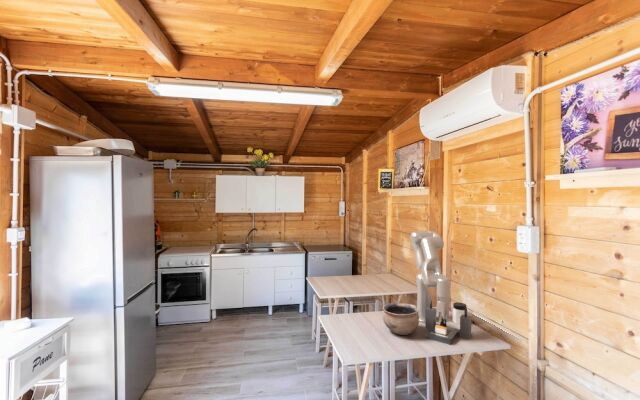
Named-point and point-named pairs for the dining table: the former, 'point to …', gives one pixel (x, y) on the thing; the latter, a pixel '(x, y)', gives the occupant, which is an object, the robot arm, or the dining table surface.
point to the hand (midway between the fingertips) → (443, 329)
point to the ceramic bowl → (401, 317)
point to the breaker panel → (447, 339)
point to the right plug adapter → (465, 325)
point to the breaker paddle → (441, 329)
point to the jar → (458, 311)
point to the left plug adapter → (430, 316)
